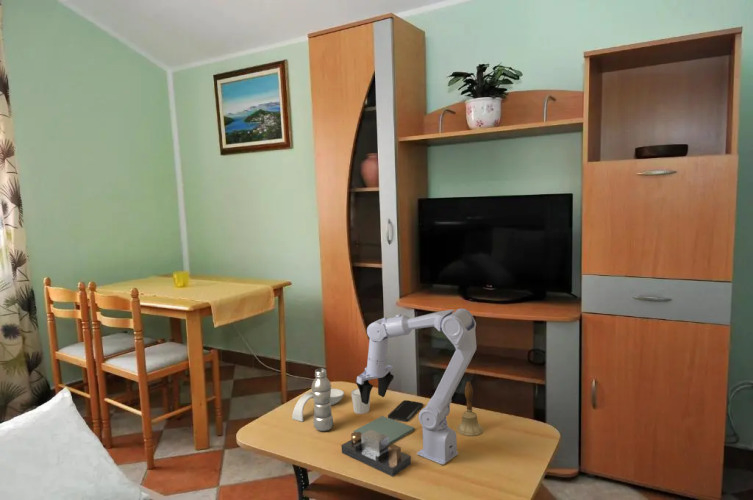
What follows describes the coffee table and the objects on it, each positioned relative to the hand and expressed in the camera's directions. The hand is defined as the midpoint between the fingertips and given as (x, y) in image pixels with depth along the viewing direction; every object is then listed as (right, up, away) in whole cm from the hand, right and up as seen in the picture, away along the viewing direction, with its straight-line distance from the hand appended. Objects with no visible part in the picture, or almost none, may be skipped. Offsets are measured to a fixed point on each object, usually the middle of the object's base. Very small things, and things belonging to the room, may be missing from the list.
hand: (373, 399), depth 154 cm
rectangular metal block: (+1, -12, -10) cm, 16 cm away
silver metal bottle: (-16, -13, +10) cm, 23 cm away
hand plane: (+1, -14, -10) cm, 17 cm away
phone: (+11, -11, +21) cm, 26 cm away
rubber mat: (+4, -12, +6) cm, 14 cm away
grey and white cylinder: (-4, -11, +23) cm, 26 cm away
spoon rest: (-20, -12, +26) cm, 35 cm away
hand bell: (+31, -12, +5) cm, 34 cm away
